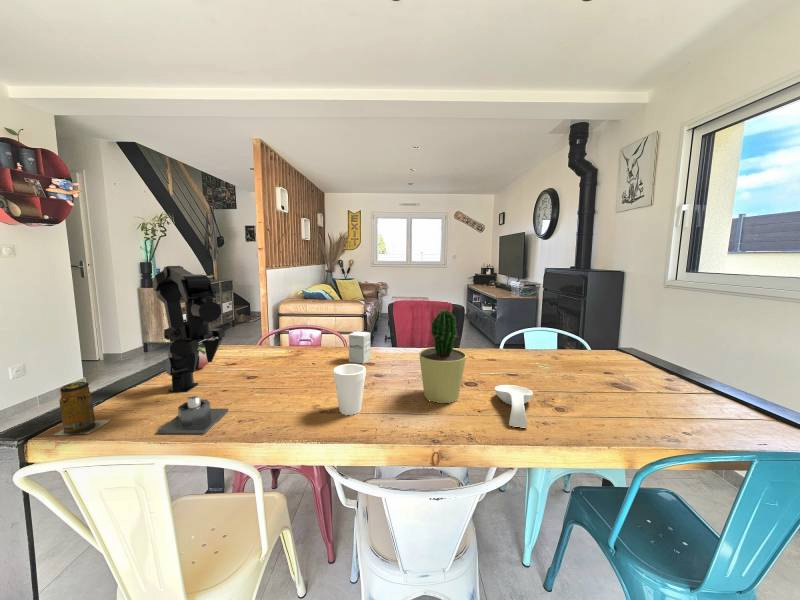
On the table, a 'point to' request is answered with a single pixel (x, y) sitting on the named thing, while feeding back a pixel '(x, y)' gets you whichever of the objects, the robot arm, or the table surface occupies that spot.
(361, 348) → the supplement box
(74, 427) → the condiment
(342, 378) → the foam cup
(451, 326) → the potted cactus
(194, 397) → the piston post
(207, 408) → the octagonal metal collar
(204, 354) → the decorative fruit
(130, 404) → the table surface
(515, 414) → the spoon rest
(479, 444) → the table surface
